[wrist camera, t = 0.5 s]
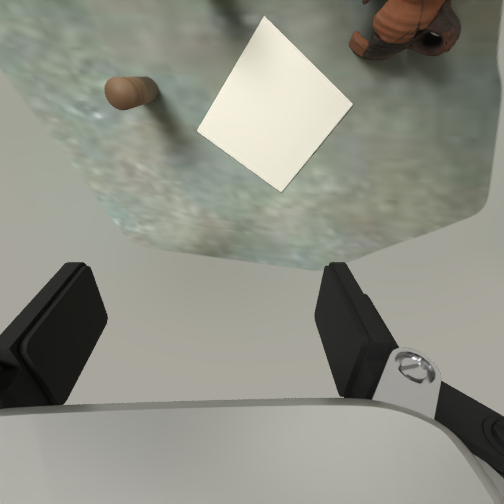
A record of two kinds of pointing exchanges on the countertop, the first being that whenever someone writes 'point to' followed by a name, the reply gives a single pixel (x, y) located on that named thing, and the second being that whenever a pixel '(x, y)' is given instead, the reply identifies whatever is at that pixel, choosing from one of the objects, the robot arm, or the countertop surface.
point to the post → (130, 91)
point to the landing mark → (273, 108)
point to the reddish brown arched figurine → (409, 29)
